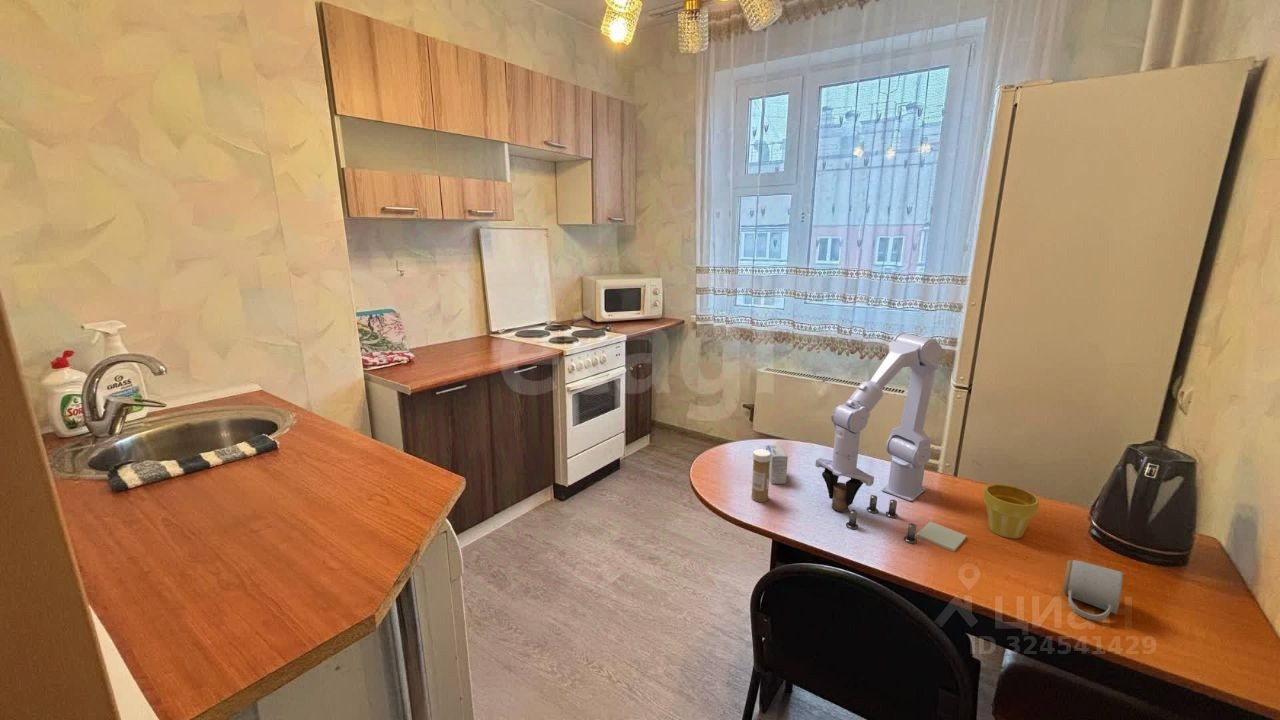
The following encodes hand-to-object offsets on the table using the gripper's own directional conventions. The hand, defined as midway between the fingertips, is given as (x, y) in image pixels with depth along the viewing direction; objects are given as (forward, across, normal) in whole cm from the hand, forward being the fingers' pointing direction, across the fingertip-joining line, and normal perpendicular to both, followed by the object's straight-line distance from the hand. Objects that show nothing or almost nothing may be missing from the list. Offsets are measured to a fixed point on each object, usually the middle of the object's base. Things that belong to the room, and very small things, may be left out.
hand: (840, 500), depth 131 cm
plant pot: (+3, +31, +20) cm, 37 cm away
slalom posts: (+2, +12, +1) cm, 12 cm away
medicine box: (+3, -21, +2) cm, 21 cm away
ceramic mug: (+3, +49, +3) cm, 49 cm away
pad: (+2, +22, +6) cm, 23 cm away
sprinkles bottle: (+2, -17, -11) cm, 20 cm away
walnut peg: (+2, 0, 0) cm, 2 cm away
